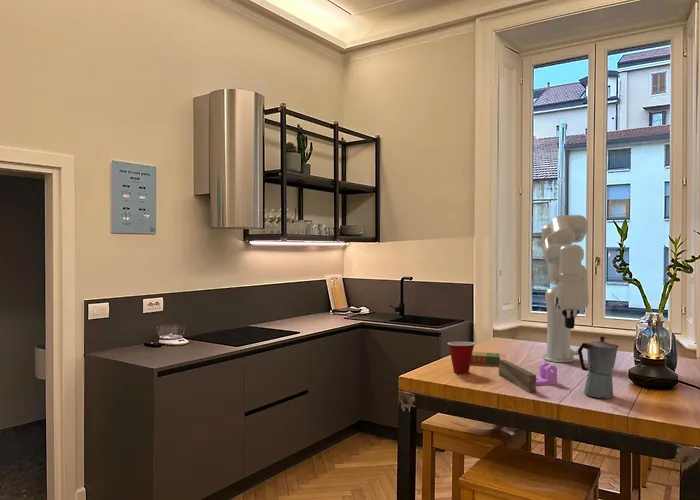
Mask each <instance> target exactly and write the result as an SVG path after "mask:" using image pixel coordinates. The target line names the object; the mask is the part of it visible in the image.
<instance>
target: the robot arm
mask: <svg viewBox="0 0 700 500" xmlns="http://www.w3.org/2000/svg"><path fill="white" fill-rule="evenodd" d="M588 225H589V223H588V220H587V218H586V217H585V216H583V215H581V214H568V215H567V214H562V215H556V216H554V217H553V218H552V219H551V221H550V223H548V224H545V225H544V226H543V227H542V228H541V233H540V234H541V241H542V250H543V257H544V261H545V262H546V263H547V277H548V281H549V283H550V284H551V285H555V287H550V288H548V289H547V290H546V291H545V293H544V294H545V297H544V298H545V299H544V300H545V306H546V316H547V317H546V320H547V321H546V324H547V325H546V327H547V328H546V331H547V332H546V354H543V356H542V359H544V360H545V361H549V362H554V363H572V362H574V361H575V358H574V356H579V354H578V350H574V349H571V329H572V330H573V329H575V326H576V325H575V324H576V323H575V320H576V318H577V316H578V315H579V314H580V313H583V312H585V310H586V309H587V308H588V306H589V303H590V302H589V299H590V298H589V295H590V294H589V281H588V280H589V279H588V272H587V267H585V265H583V264H582V261H583V260H584V257H585V253H584V252H585V250H584V248H582V246H581V245H580V244H576V243H582V242H583V240H584V238H585V237H586V235H587V233H588V228H589V226H588ZM574 243H575V244H574Z"/></svg>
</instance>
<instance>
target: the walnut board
mask: <svg viewBox="0 0 700 500" xmlns="http://www.w3.org/2000/svg"><path fill="white" fill-rule="evenodd" d="M498 376H499V377H501V378H502V379H505V380H506V381H508V382H510V383H511V384H513V385H515V386H517V387H518V388H520V389H521V390H524V391H525V392H527V393H529V394H533V393H537V385H536V377H537V375H536V374H534V373H533V372H531V371H530V370H529V371H528V370H527V369H525V368H522V367H521V366H519V365H517V364H514V363H513V362H511V361H509V360H508V359H500V360H499V366H498Z"/></svg>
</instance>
